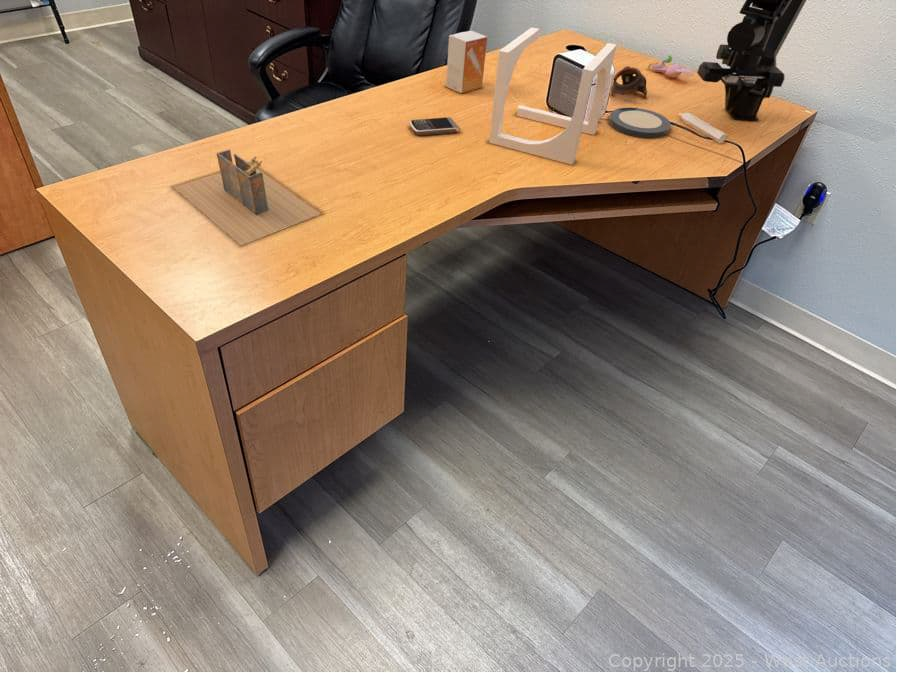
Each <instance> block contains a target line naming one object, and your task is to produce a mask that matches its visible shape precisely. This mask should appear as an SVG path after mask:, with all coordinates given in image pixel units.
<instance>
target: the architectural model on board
mask: <svg viewBox="0 0 897 673" xmlns="http://www.w3.org/2000/svg"><path fill="white" fill-rule="evenodd" d="M232 156H233V157H232ZM216 157H217V163H218V167H219V171H220V172H218V173H215V174H212V175H209V176H205V177H202V178H199V179H196V180H192V181H190V182H186V183H183V184H180V185H177V186H174V187H173V189H175V190H176V191H177V192H178V193H179V194H180V195H182V196H183V197H184V198H185V199H186V200H187V201H188V202H190V203H191V204H192V205H194V207H196V208H197V209H198V210H199V211H200V212H202V213H203V214H204V215H205V216H206V217H208V218H209V219H210V220H211V221H212V222H213V223H215V225H217V226H218V227H219V228H220V229H222V230H223V231H224V232H225V233H226V234H228V236H230V237H231V238H232V239H233V240H234V241H235V242H237V243H238V245H240V246H244V245H247V244H249V243H252V242H254V241H257V240H259V239H262V238H264V237H267V236H269V235H271V234H274V233H277V232H280V231H282V230H284V229H288V228H290V227H293V226H294V225H297V224H300V223H302V222H305V221H307V220H310V219H312V218H315V217H318V216H320V215H322V213H321V212H320V211H318V210H317V209H315V208H314V207H312V206H311V205H310V204H308V203H307V202H306V201H304V200H302V199H301V198H300V197H298V196H297V195H295V194H294V193H293V192H291V191H290V190H289V189H288V188H286V187H284V186H283V185H282V184H280V183H279V182H277V181H276V180H274V178H271V177H270V176H269V175H268V174H266V173H265V172H263V171H262V170H261V169H259V168H260V167H261V165H262V163H263V160H260V161H259V160H258V159H257V156H254V157H253V158H251V159H250V160H251V162H250V163H249V162H247V161H246V160H244V159H243V158H242V157H241V156H239V155H238V154H237V153H234V154H233V155H232V152H231V149H230V148H229V149H225V150H222V151H219V152H216ZM233 158H234V162H235V164H234V162H233Z"/></svg>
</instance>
